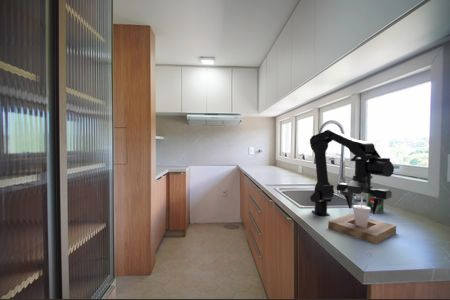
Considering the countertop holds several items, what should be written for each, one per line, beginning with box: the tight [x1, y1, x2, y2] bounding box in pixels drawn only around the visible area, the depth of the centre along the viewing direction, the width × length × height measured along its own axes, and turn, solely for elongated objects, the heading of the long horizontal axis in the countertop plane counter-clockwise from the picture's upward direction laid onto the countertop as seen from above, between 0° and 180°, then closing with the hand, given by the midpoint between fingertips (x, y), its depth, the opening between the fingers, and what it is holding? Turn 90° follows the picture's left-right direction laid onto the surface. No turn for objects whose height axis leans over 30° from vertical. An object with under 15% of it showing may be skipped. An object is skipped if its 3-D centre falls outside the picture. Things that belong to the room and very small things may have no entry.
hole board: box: [327, 213, 397, 245], centre depth 93 cm, size 18×18×3 cm
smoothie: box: [352, 195, 371, 228], centre depth 93 cm, size 6×6×14 cm
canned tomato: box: [365, 187, 385, 213], centre depth 121 cm, size 8×8×11 cm
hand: (361, 211), depth 93 cm, fingers open, 9 cm apart
